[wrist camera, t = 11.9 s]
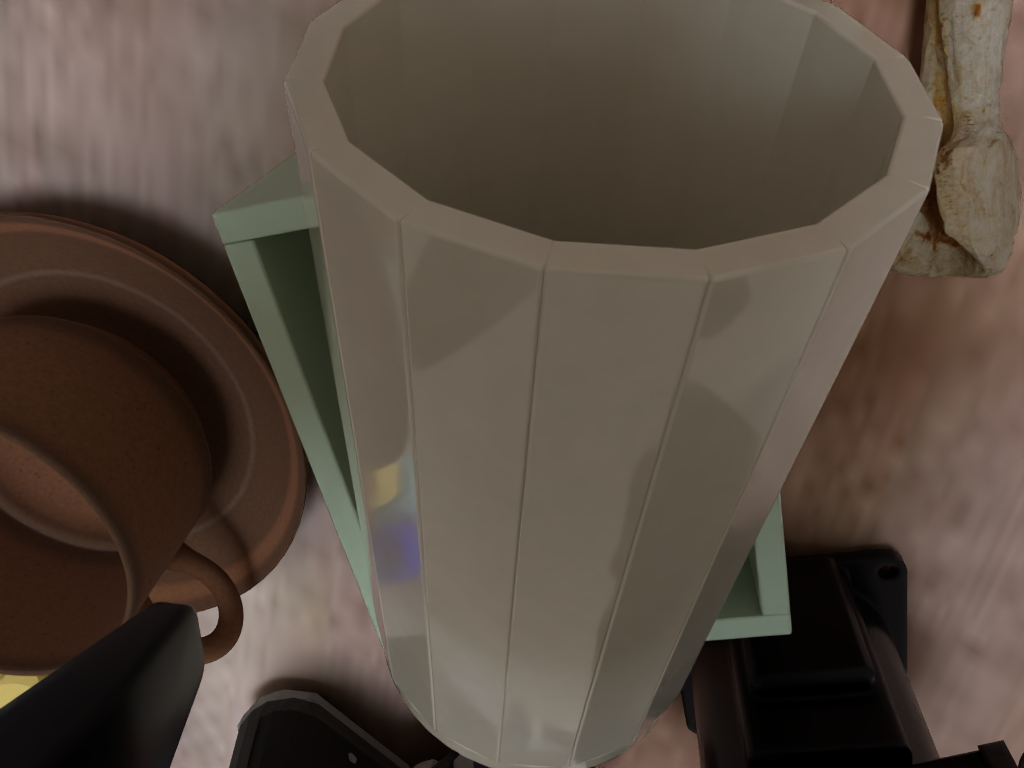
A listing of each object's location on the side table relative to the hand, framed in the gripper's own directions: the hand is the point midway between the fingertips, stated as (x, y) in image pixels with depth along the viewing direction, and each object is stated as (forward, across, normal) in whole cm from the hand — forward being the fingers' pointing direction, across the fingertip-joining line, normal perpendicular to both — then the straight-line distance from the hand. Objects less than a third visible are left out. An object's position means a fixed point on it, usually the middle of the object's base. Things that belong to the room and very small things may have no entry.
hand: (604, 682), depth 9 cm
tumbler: (+7, +1, +6) cm, 9 cm away
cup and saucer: (+12, +13, +5) cm, 19 cm away
